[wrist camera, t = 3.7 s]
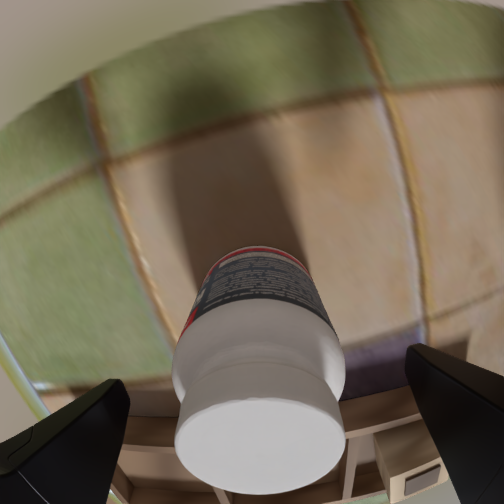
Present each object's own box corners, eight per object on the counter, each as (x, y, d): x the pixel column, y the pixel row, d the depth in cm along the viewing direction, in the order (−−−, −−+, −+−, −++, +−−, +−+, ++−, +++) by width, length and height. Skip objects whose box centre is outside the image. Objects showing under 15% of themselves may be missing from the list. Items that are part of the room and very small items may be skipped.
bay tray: (465, 367, 16) (484, 388, 13) (439, 449, 18) (450, 470, 16) (86, 413, 17) (72, 437, 15) (132, 484, 19) (125, 506, 17)
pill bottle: (194, 247, 14) (115, 364, 5) (313, 240, 14) (392, 351, 5) (208, 350, 15) (174, 502, 7) (313, 344, 15) (355, 494, 7)
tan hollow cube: (429, 407, 16) (456, 451, 12) (427, 441, 17) (448, 482, 13) (372, 430, 16) (391, 480, 12) (376, 462, 17) (391, 506, 13)
